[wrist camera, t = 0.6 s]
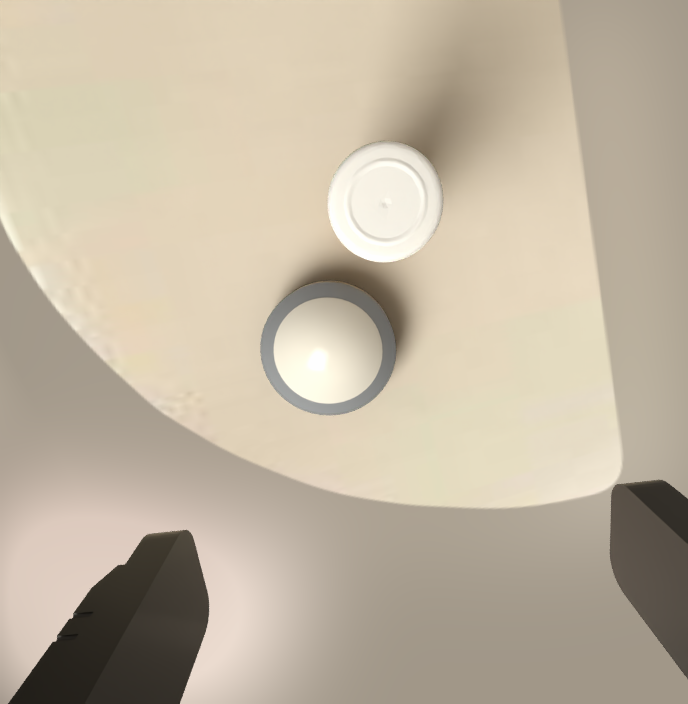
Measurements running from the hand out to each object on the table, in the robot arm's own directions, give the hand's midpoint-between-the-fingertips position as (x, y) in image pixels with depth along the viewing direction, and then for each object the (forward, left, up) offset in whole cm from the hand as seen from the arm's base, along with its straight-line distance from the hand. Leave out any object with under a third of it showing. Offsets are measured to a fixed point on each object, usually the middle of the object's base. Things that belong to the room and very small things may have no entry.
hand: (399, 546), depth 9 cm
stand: (+1, -3, -24) cm, 24 cm away
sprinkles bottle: (-7, +1, -24) cm, 25 cm away
